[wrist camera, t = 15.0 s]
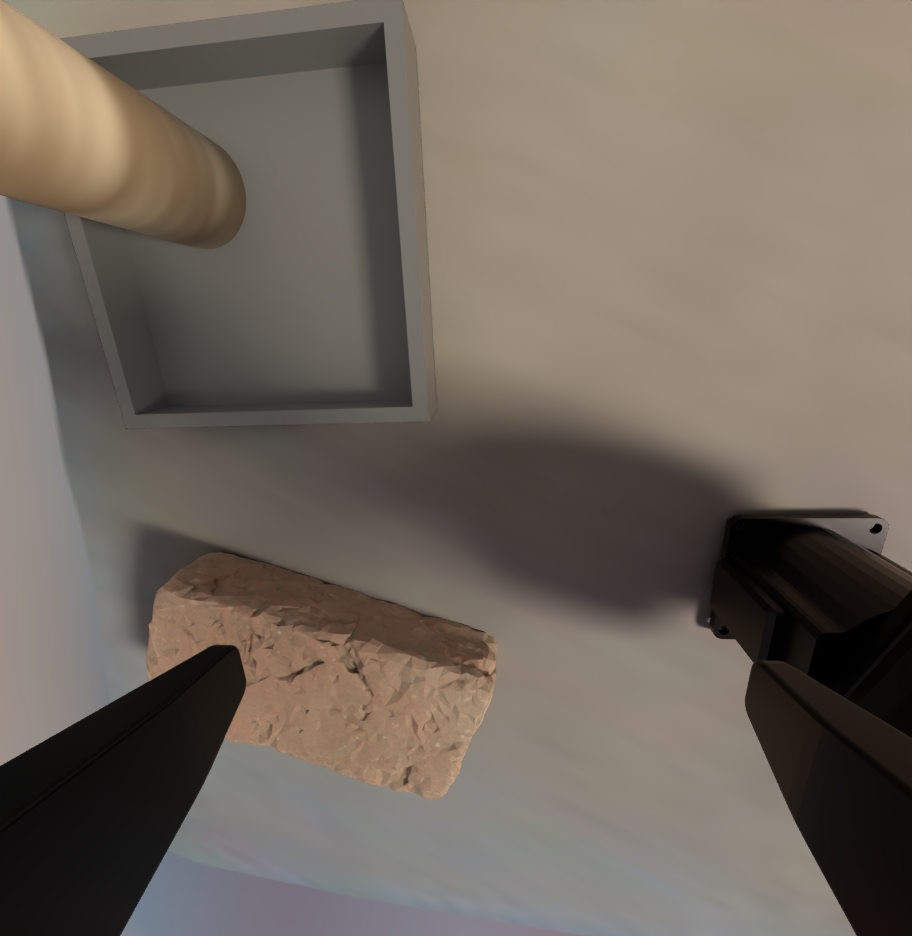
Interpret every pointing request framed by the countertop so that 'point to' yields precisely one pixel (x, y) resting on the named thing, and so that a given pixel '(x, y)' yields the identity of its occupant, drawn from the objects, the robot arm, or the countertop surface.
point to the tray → (276, 227)
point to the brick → (332, 670)
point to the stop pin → (106, 146)
